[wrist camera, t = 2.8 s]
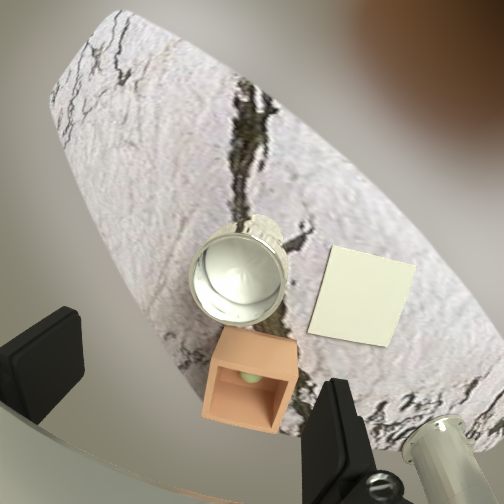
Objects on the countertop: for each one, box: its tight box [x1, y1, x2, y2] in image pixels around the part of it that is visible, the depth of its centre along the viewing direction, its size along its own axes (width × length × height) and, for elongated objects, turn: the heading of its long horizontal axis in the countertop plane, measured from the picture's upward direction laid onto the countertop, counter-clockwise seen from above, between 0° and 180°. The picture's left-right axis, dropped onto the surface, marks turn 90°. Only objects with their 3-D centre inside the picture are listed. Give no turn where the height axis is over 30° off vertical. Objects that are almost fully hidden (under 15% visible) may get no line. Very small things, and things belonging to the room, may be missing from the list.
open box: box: [201, 325, 298, 434], centre depth 34 cm, size 9×9×8 cm
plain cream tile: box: [308, 245, 417, 347], centre depth 35 cm, size 11×11×1 cm
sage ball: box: [239, 371, 263, 383], centre depth 36 cm, size 3×3×3 cm
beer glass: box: [188, 214, 288, 326], centre depth 28 cm, size 7×7×15 cm
